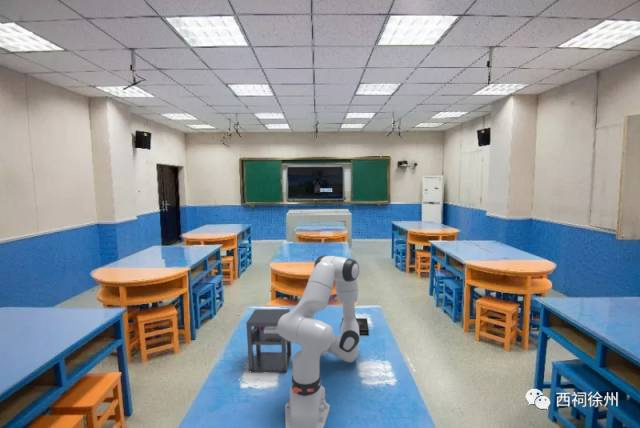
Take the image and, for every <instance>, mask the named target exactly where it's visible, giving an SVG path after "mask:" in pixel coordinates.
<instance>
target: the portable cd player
mask: <svg viewBox="0 0 640 428" xmlns="http://www.w3.org/2000/svg"><path fill="white" fill-rule="evenodd" d="M356 319H357V320H358V322H359V336H365V337H366V336H367V337H369V335H370V334H369V323H368V318H366V317H365V318H364V317H362V318H361V317H359V318H358V317H356ZM342 320H343V317H342V318H341V321H342Z"/></svg>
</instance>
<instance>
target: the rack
mask: <svg viewBox="0 0 640 428" xmlns="http://www.w3.org/2000/svg"><path fill="white" fill-rule="evenodd" d="M290 311H291V309H281V308H280V309H278V308H277V309H273V308H272V309H254V310H253V312H252V314H251V315H250V317H249V318H248V319H247V321H246V339H247V356H248V372H249V371H251V372H250V373H264V372H269V373H275V374H276V373H280V374H283V373H286V374H287V373H288V370H289V367H290V362H291V358H292V354H293V353H292V342H290V341H287V340H286V339H284V338H282V337H281V336H280V335H279V334H278V333H264V331H260V327H277V324H278V321H279V319H280V318H281V317H282V316H283V315H284V314H286V313H288V312H290ZM254 345H255V348H256V349H255V350H256V354H255V357H254ZM262 345H263V346H266V345H267V346H269V345H270V346H271V345H272V346H275V345H276V346H278V345H279V346H280V345H281V352H274V351H273V352H267V351H266V352H265V351H262Z"/></svg>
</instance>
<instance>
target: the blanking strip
mask: <svg viewBox="0 0 640 428" xmlns="http://www.w3.org/2000/svg"><path fill="white" fill-rule="evenodd" d="M264 333H278V332H277V327H265V328H264Z"/></svg>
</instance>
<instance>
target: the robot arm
mask: <svg viewBox="0 0 640 428" xmlns="http://www.w3.org/2000/svg"><path fill="white" fill-rule="evenodd" d="M313 266H314V267H313V269H312V271H311V274H310V275H309V278H308V281H307V283H306V285H305V286H306V287H305V288H304V291H303V294H302V296H301V298H300V300H299V302H298V303H297V304H296V305H295V306H294V307H293V308H292V309H290V312H288V313H286V314H284V315H283V316H282V317H281V318H280V319H279V321H278V324H277V332H278V334H279V335H280V336H281V337H282V338H284V339H286V340H287V341H290V342H291V343H294V344H297V345H300V347H301V349H302V350H300V351H298V352H296V353H295V354H294V356H293V358H292V376H291V385H290V387H289V400H288V402H287V403H285V405H284V418H285V419H284V420H285V421H284V422H285V426H284V427H285V428H325V426H326V422H327V419H328V416H329V413H330V409H331V406H330V404H329V403H327V402H326V391H325V390H326V389H325V387H324V386H323V385H322V376H321V373H320V360H321V356H326V355H327V354H332V355H334V356H335V357H336V358H337V359H340V360H342V361H344V362H345V363H346V362H347V363H353V362H354V361H356V359H357V358H358V356H359V352H360V351H359V342H360V336H361V335H359V322H358V320H357V319H356V318H357V317H356V309H355V303H356V302H357V300H358V298H359V297H358V296H359V295H358V294H359V289H358V288H359V285H358V279H357V278H358V276H359V274H360V266H359V263H358V262H357V261H356V260H355V259H352V258H350V257H349V258H347V257H343V256H337V255H327V254H324V255H319V256H318V257H317V259H316V260H315V262H314V264H313ZM334 284H335V285H334ZM334 286H335V294H336V298H337V302H339V304H341V305H342V312H343V313H342V314H343V317H342V318H343V320H342V319H341V323H340V335H339V336H337V335H335V333H334V329H333V327H332V325H329V324H328V323H326V322H324V321H323V320H318V319H315V318H313V317H314V316H315V314H317V313H318V312H320V311H323V310H325V309H326V308H327V306H328V303H329V300H330V297H331V294H332V292H333V288H334Z"/></svg>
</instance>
